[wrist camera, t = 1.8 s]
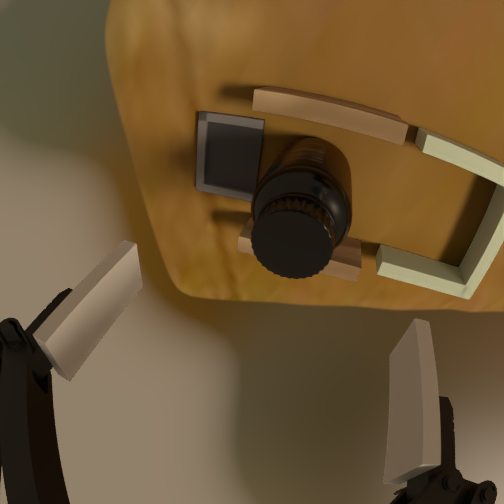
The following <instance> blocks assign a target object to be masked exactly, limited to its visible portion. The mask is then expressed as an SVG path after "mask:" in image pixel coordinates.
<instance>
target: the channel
mask: <svg viewBox="0 0 504 504" xmlns="http://www.w3.org/2000/svg"><path fill="white" fill-rule="evenodd" d="M252 110H254V111H261V112H267V113H273V114H278V115H284V116H289V117H294V118H299V119H304V120H309V121H314V122H318V123H323V124H327V125H331V126H335V127H339V128H343V129H347V130H351V131H355V132H359V133H362V134H366V135H369V136H373V137H376V138H380V139H383V140H386V141H389V142H393V143H396V144H399V145H402V146H403V144H404V141H405V137H406V133H407V129H408V124H407V123H406V122H405V121H403V120H402V119H401V118H400V117H399V116H397V115H394V114H391V113H388V112H384V111H381V110H378V109H374V108H371V107H367V106H364V105H360V104H356V103H352V102H348V101H344V100H340V99H336V98H332V97H327V96H323V95H318V94H313V93H308V92H303V91H297V90H292V89H286V88H280V87H273V86H267V87H262V88H258V89H254V97H253V106H252ZM253 225H254V224H253V221H252V217H250V219H249V220H248V222H247V224H246V225H245V227H244V228H243V230H242V232H241V233H240V235H239V238H238V248H237V251H240V252H244V253H247V254H251V255H254V251H253V249H252V247H251V245H252V243H251V241H250V239H251V231H252V229H253ZM360 271H361V241H360V240H356V239H353V238H349V237H346V238H345V239H344V241H343V242H342V243H341V244H340V245H339V246H338V247H337V248H336V249H334V252H333V255H332V259H331V260H330V261H329V264H328V265H327V266H325V268H324V270H322V271H320V272H319V273H323V274H327V275H330V276H334V277H338V278H342V279H346V280H349V281H353V282H356V280H357V278H358V275H359V273H360Z"/></svg>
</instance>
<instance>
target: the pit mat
mask: <svg viewBox="0 0 504 504" xmlns="http://www.w3.org/2000/svg"><path fill="white" fill-rule="evenodd" d="M264 123H265V120H264V119H258V118H252V117H245V116H239V115H231V114H224V113H215V112H206V111H201V112H199V121H198V141H197V168H196V190H199V191H204V192H209V193H214V194H218V195H223V196H227V197H232V198H236V199H241V200H245V201H250V202H251V201H252V197H253V194H254V192H255V190H256V186H257V178H258V170H259V163H260V155H261V147H262V139H263V131H264Z"/></svg>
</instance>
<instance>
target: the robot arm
mask: <svg viewBox="0 0 504 504" xmlns="http://www.w3.org/2000/svg"><path fill="white" fill-rule="evenodd" d="M142 287H143V284H142V278H141V272H140V265H139V259H138V252H137V244H136V243H133V242H129V241H126V240H123V242H121V243H120V244H119V245H118V246H117V247H116V248H115V249H114V250H113V251H112V252H111V253H110V254H109V255H108V256H107V257H105V258H104V259H103V260H102V262H100V263H99V264H98V265H97V266H96V267H95V268H94V269H93V270H92V271H91V272H90V273H89V274H88V275H87V276H86V277H85V278H84V280H82V281H81V283H80V284H78V285H77V287H76V288H75V289H74V290H72V289H70V288H68V289H66V290H64V291H63V292H61V293H59V294H58V295H57V296H56V297H55V298H54V299H53V301H52V303H50V304H49V305H48V306H47V307H46V309H44V310H43V311H42V312H41V313H40V314H39V316H38V317H37V318H36V319H35V320H34V321H33V322H32V323H31V324H30V326H29V327H28V328H27V329H26V330H25V331H24V330H23V328H22V326H21V325H20V323H19V322H18V320H17V319H15V318H7V319H4V320H3V321H2V322H1V323H0V481H1V467H2V468H3V477H4V484H5V489H6V496H7V501H8V504H70V502H69V498H68V494H67V490H66V486H65V482H64V477H63V472H62V467H61V461H60V456H59V450H58V443H57V436H56V428H55V419H54V409H53V394H52V375H51V371H50V370H51V369H52V367H54V369H55V370H56V372H57V373H58V374H59V375H61V376H62V377H63V378H65V379H66V380H68V381H71V380H72V378H73V377H74V375H75V374H76V373H77V371H78V370H79V369H80V367H81V366H82V364H83V363H84V362H85V360H86V359H87V357H88V356H89V355H90V353H91V352H92V351H93V349H94V348H95V347H96V345H97V344H98V343H99V342H100V340H101V339H102V338H103V336H104V335H105V334H106V332H107V331H108V330H109V328H110V327H111V326H112V324H113V323H114V322H115V320H116V319H117V318H118V317H119V316H120V314H121V313H122V312H123V310H124V309H125V308H126V307H127V305H128V304H129V303H130V301H131V300H132V299H133V298H134V296H135V295H136V294H137V293H138V292H139V290H140V289H141V288H142ZM453 419H454V418H453V408H452V406H451V403H450V401H449V398H448V397H440V396H439V393H438V383H437V373H436V365H435V358H434V350H433V343H432V337H431V331H430V325H429V322H428V321H424V320H420V319H416V318H415V319H414V320H413V322H412V323H411V325H410V326H409V328H408V330H407V331H406V333H405V334H404V336H403V337H402V338H401V340H400V341H399V343H398V344H397V346H396V347H395V349H394V350H393V351H392V353H391V354H390V402H389V424H388V439H387V451H386V461H385V470H384V479H383V484H401V483H404V482H406V481H407V487H405V488H403V489H400V490H398V491H396V492H395V493H394V495H397V494H399V493H400V494H399V495H398V496H397V497H396V498H395V499H394V500H393V501H392V502H391V503H390V504H494V503H495V500H496V496H497V488H496V486H495V484H494V483H493V482H492V481H488V480H487V481H484V482H481V483H480V484H477V483H474V482H471V481H468V480H465V479H464V478H463V477H462V474H461V473H460V471H459V470H457V469H456V467H455V436H454V422H453Z"/></svg>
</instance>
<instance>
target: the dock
mask: <svg viewBox="0 0 504 504" xmlns="http://www.w3.org/2000/svg"><path fill="white" fill-rule="evenodd" d="M415 144H416V145H417V146H418V148H419V149H420V150H421V151H422V152H423V153H426V154H429V155H431V156H434V157H437V158H439V159H442V160H444V161H447V162H450V163H452V164H454V165H457V166H459V167H462V168H464V169H466V170H469V171H471V172H473V173H476V174H478V175H480V176H482V177H485V178H487V179H489V180H491V181H493V182H495V183H497V186H496V189H495V191H494V194H493V196H492V199H491V201H490V203H489V206H488V208H487V210H486V213H485V215H484V217H483V220H482V222H481V224H480V226H479V228H478V230H477V232H476V234H475V237H474V239H473V241H472V243H471V245H470V247H469V249H468V250H467V252H466V254H465V256H464V258H463V260H462V262H461V264H460V266H459V267H456V266H452V265H449V264H446V263H443V262H440V261H436V260H433V259H430V258H427V257H423V256H420V255H417V254H413V253H410V252H407V251H403V250H400V249H396V248H393V247H389V246H386V245H382V244H380V247H379V249H378V252H377V254H376V267H377V275H381V276H385V277H389V278H392V279H396V280H400V281H403V282H407V283H411V284H414V285H418V286H422V287H425V288H429V289H432V290H436V291H440V292H443V293H447V294H451V295H454V296H458V297H461V298H465V299H468V300H469V299H470V298H471V296H472V295H473V293H474V291H475V290H476V288H477V287H478V285H479V283H480V282H481V280H482V279H483V277H484V275H485V273H486V272H487V270H488V268H489V267H490V265H491V263H492V261H493V260H494V258H495V256H496V254H497V252H498V250H499V248H500V247H501V245H502V243H503V241H504V164H503V163H501V162H499V161H497V160H495V159H493V158H491V157H489V156H487V155H485V154H483V153H481V152H478V151H476V150H474V149H472V148H470V147H468V146H465V145H463V144H461V143H458V142H456V141H454V140H451V139H449V138H446V137H444V136H441V135H439V134H436V133H434V132H431V131H428V130H426V129H423V128H420V127H419V129H418V132H417V136H416V140H415Z"/></svg>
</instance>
